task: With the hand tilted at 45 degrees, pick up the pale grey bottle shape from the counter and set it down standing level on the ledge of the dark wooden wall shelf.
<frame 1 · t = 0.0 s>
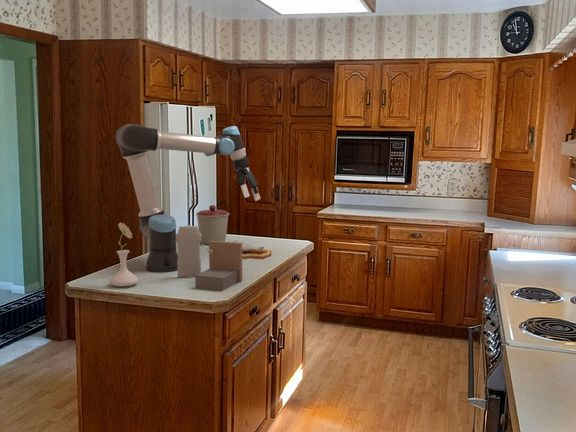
hand: (252, 198, 297), 28 cm above the table, tool tilted 20°, fingers open, 13 cm apart
canister: (213, 243, 326), on the table
pale grey bottle shape: (189, 277, 253), on the table
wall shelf: (217, 284, 240), on the table
flower in vase: (123, 285, 240), on the table
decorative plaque: (241, 255, 298), on the table
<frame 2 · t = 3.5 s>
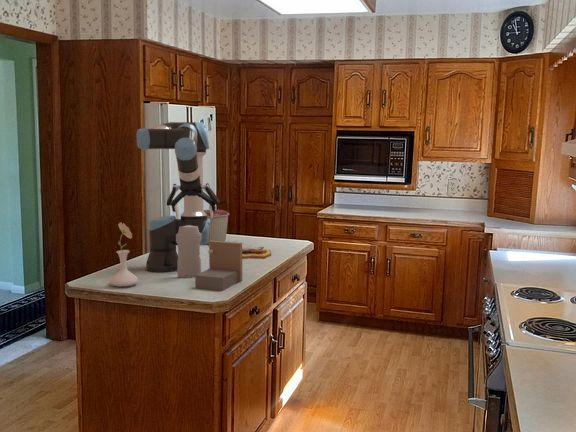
hand: (194, 216, 239), 27 cm above the table, tool tilted 35°, fingers open, 13 cm apart
nothing on the table moved.
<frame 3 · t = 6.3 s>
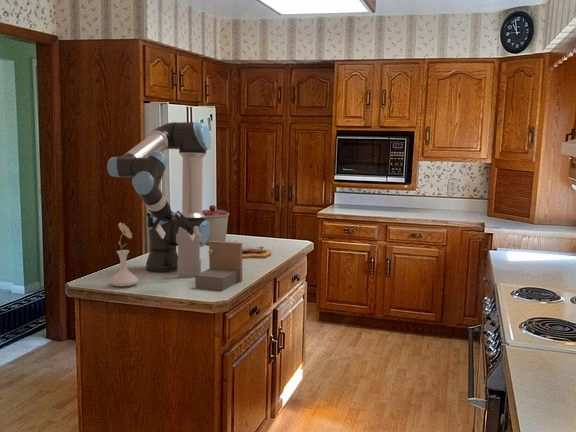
hand: (178, 237, 243), 18 cm above the table, tool tilted 45°, fingers open, 13 cm apart
nothing on the table moved.
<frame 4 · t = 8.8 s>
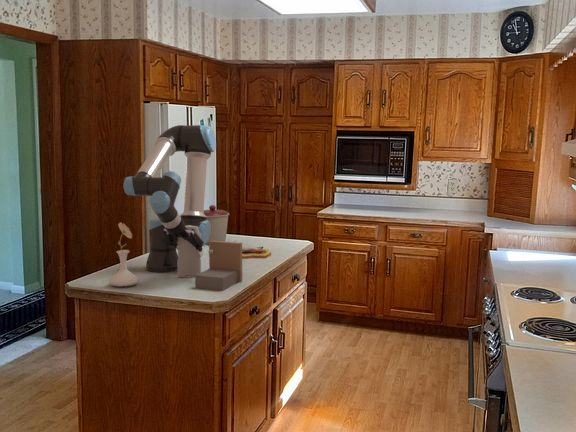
hand: (192, 253, 255), 9 cm above the table, tool tilted 45°, fingers closed on pale grey bottle shape, 8 cm apart
pale grey bottle shape: (189, 277, 253), on the table, touching gripper
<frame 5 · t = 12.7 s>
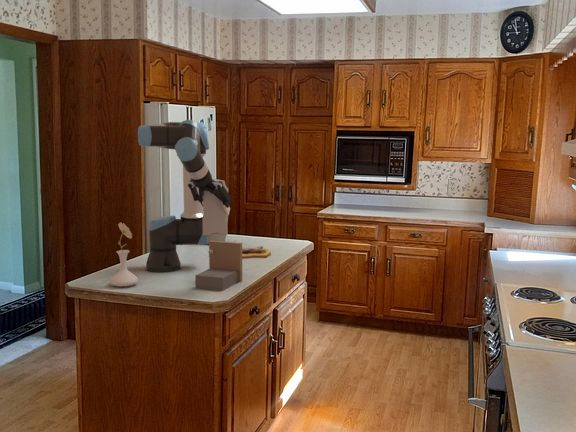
hand: (218, 210, 238), 30 cm above the table, tool tilted 45°, fingers closed on pale grey bottle shape, 8 cm apart
pale grey bottle shape: (215, 235, 236), point 20 cm above the table, touching gripper
when the fingers open (15 cm above the table, at t = 16.5 s): pale grey bottle shape stays where it is, resting on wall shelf.
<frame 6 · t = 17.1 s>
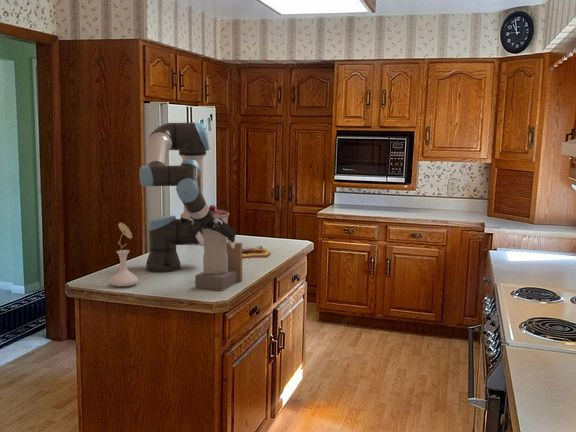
hand: (218, 244, 239), 16 cm above the table, tool tilted 45°, fingers open, 13 cm apart
pale grey bottle shape: (215, 273, 238), point 5 cm above the table, touching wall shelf
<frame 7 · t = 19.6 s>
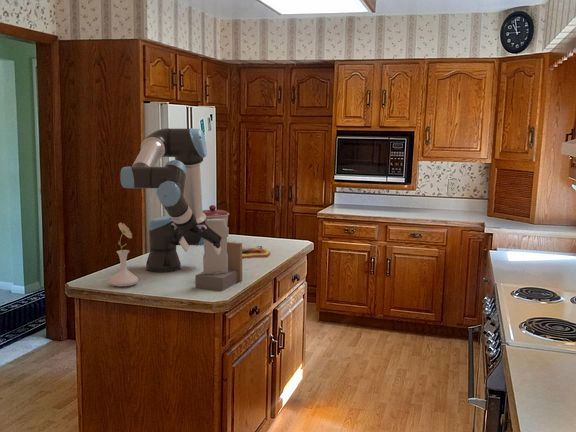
hand: (203, 250, 227), 16 cm above the table, tool tilted 45°, fingers open, 13 cm apart
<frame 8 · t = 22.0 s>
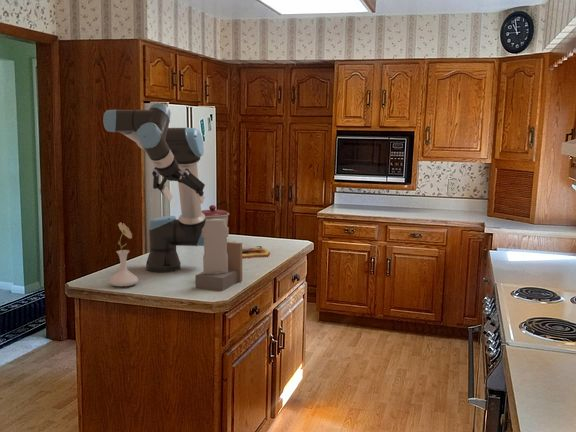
hand: (186, 199, 223), 36 cm above the table, tool tilted 45°, fingers open, 13 cm apart
at the end: pale grey bottle shape inside the target area on the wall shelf (0.4 cm from its centre), point 4.8 cm above the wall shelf's base; pale grey bottle shape tilted 0°; the gripper is holding nothing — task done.
